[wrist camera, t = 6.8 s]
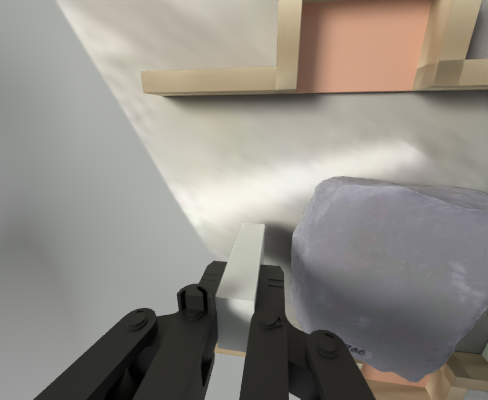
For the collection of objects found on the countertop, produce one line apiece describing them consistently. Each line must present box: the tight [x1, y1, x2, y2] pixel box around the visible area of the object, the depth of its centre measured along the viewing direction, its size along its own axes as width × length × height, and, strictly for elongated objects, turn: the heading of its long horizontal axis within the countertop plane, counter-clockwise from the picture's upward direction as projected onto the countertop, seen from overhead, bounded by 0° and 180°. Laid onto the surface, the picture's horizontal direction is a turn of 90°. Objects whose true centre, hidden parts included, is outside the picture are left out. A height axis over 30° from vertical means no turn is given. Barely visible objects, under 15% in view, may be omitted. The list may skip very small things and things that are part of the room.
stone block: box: [290, 176, 488, 382], centre depth 13 cm, size 12×5×10 cm
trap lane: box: [141, 0, 488, 400], centre depth 14 cm, size 28×24×4 cm
